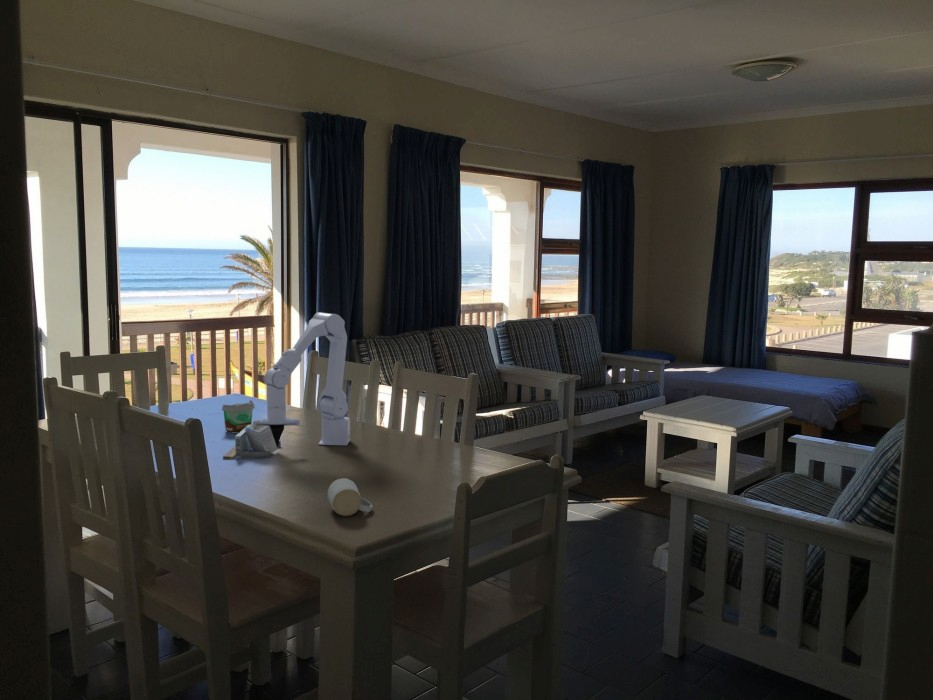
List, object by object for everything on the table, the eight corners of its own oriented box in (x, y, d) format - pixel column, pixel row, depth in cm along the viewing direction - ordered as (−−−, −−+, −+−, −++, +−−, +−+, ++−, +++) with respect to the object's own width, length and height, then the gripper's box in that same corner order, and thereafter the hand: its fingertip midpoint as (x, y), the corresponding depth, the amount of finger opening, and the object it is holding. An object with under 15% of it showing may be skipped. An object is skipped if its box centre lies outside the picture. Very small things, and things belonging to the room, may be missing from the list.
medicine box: (278, 449, 238) (270, 425, 235) (267, 456, 235) (258, 432, 232) (263, 445, 243) (255, 421, 240) (252, 451, 240) (244, 428, 237)
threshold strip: (248, 444, 248) (248, 442, 248) (233, 459, 231) (232, 456, 231) (239, 444, 248) (239, 442, 248) (223, 458, 231) (223, 456, 230)
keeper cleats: (280, 446, 247) (280, 440, 247) (270, 458, 232) (270, 452, 232) (253, 445, 247) (253, 440, 247) (240, 458, 232) (240, 451, 232)
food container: (232, 435, 260) (232, 407, 259) (222, 432, 264) (221, 404, 263) (261, 429, 270) (261, 402, 269) (251, 427, 274) (251, 400, 273)
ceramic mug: (332, 519, 181) (333, 488, 180) (326, 508, 189) (327, 478, 188) (375, 516, 185) (376, 485, 184) (368, 505, 192) (369, 476, 191)
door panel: (253, 445, 248) (253, 424, 247) (239, 459, 231) (239, 437, 230) (248, 445, 248) (248, 424, 247) (234, 459, 231) (234, 436, 230)
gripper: (299, 403, 244) (299, 444, 245) (253, 404, 240) (253, 445, 242) (300, 407, 237) (300, 449, 238) (252, 408, 233) (252, 451, 235)
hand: (276, 448), depth 240 cm, fingers closed, pressing on medicine box
